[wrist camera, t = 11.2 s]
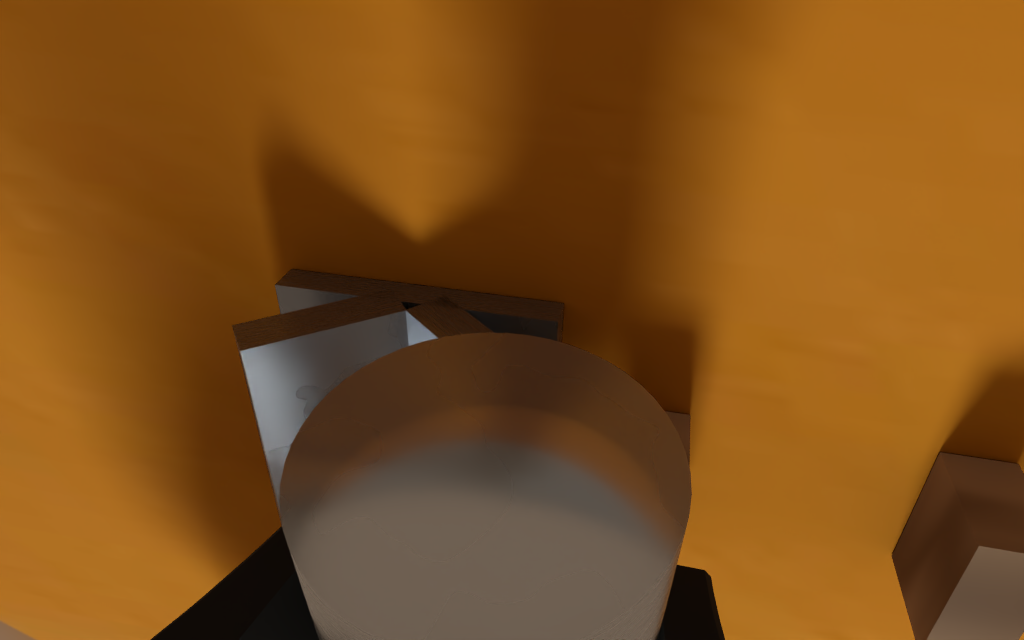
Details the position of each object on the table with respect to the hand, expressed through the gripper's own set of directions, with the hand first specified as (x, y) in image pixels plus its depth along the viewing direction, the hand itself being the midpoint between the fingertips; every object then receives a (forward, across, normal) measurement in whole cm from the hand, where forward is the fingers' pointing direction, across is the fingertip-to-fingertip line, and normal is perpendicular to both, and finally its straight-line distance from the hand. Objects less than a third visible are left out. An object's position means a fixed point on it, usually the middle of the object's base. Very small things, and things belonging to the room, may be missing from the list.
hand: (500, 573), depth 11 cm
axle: (+2, 0, +2) cm, 3 cm away
